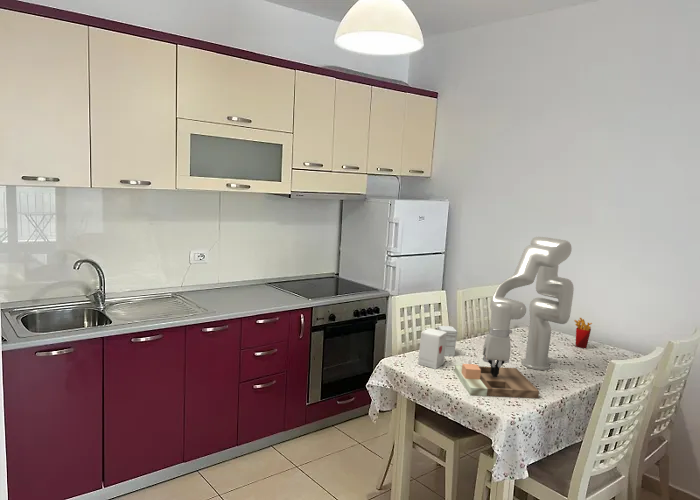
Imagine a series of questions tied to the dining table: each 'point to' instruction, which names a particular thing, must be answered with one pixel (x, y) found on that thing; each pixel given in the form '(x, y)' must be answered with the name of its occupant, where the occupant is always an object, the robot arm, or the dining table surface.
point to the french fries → (582, 333)
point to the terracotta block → (471, 371)
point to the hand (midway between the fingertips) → (494, 375)
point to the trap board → (498, 383)
